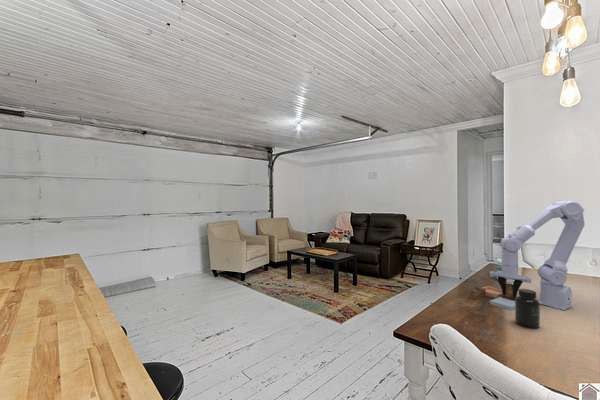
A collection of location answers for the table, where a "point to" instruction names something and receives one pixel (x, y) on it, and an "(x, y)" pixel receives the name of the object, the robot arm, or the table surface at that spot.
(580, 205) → the robot arm
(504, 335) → the table surface
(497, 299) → the plate
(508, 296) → the dowel
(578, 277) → the table surface
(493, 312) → the table surface
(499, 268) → the light bulb box
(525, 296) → the supplement bottle
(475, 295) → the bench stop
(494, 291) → the tray
